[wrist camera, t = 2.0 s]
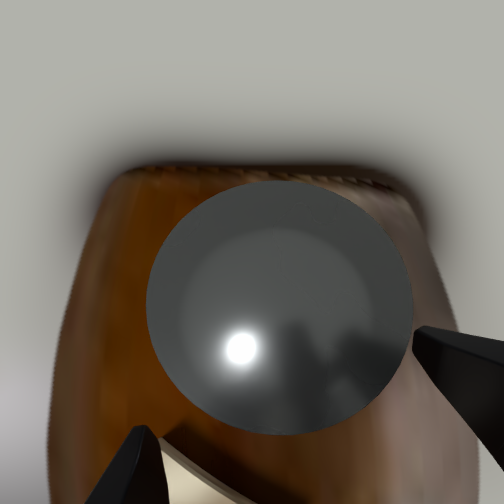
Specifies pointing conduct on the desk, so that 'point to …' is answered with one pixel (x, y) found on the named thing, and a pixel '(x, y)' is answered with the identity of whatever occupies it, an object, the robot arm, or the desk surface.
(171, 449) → the cream square slab
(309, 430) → the steel bottle
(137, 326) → the desk surface
